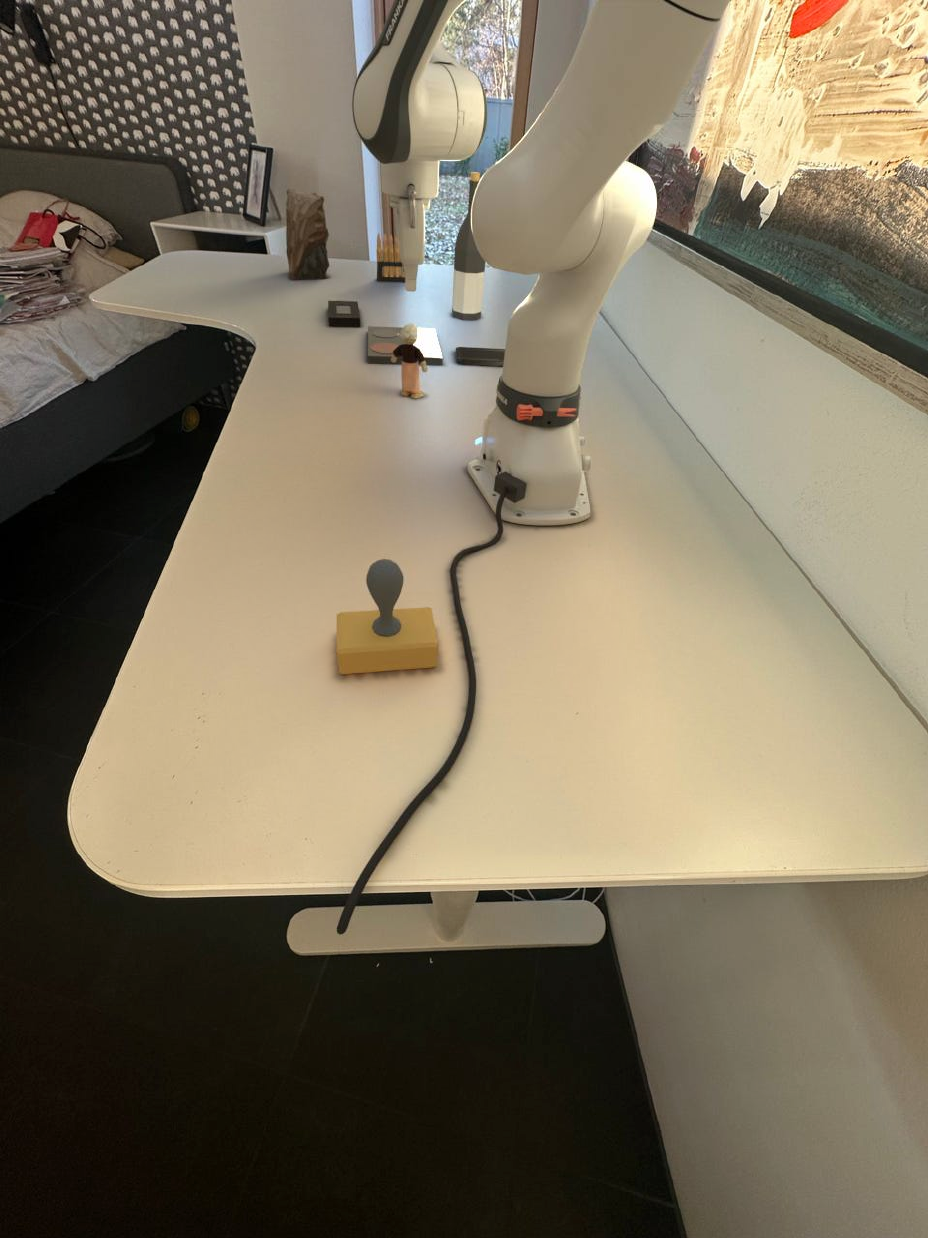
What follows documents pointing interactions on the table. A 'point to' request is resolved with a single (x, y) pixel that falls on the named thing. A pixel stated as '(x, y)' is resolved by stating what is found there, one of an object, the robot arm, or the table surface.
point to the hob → (389, 339)
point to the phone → (480, 356)
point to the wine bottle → (468, 267)
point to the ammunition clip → (393, 262)
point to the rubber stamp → (386, 629)
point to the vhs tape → (343, 313)
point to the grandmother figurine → (410, 361)
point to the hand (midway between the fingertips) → (409, 282)
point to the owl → (306, 236)
